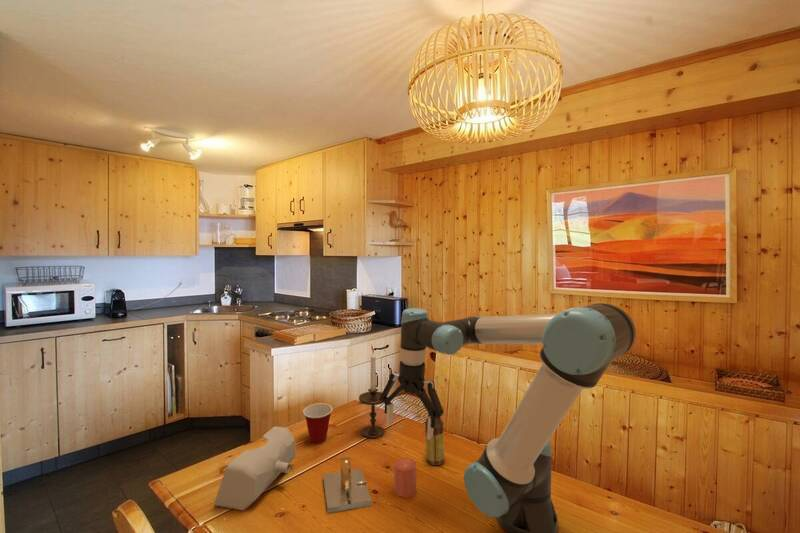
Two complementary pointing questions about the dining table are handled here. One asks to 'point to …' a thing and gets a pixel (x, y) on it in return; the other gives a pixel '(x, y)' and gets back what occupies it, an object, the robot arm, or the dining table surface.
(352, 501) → the plate
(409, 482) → the wire nut
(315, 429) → the plastic cup
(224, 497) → the tank
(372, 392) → the candlestick
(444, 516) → the dining table surface
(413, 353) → the robot arm
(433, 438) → the sauce bottle
